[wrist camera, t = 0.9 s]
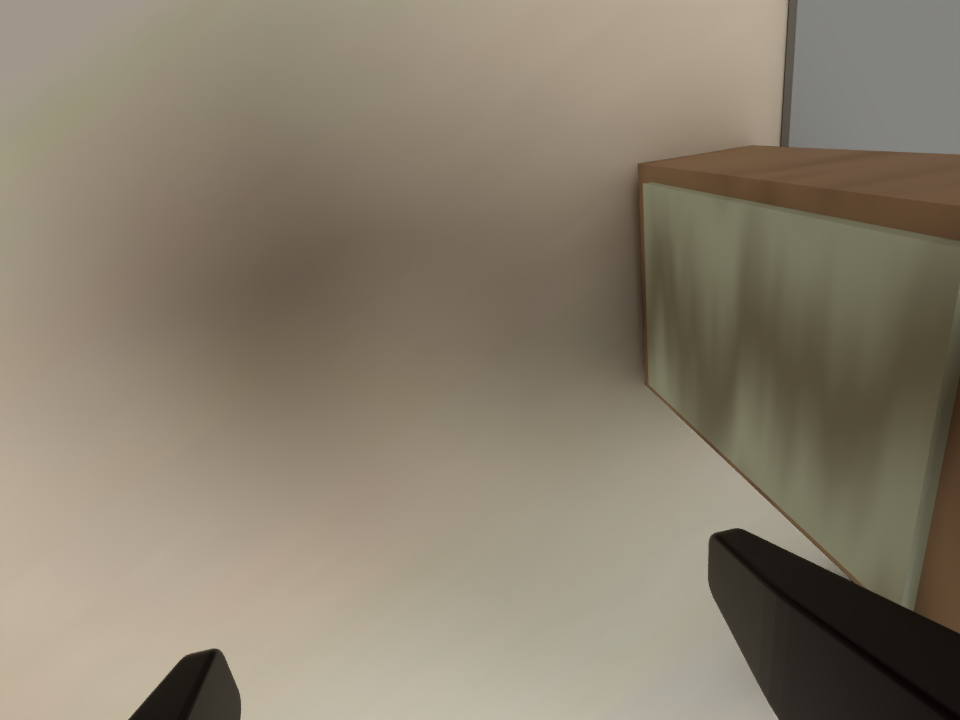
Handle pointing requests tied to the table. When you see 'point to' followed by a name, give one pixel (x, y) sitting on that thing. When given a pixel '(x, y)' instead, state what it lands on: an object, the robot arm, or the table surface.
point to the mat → (873, 75)
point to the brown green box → (819, 345)
